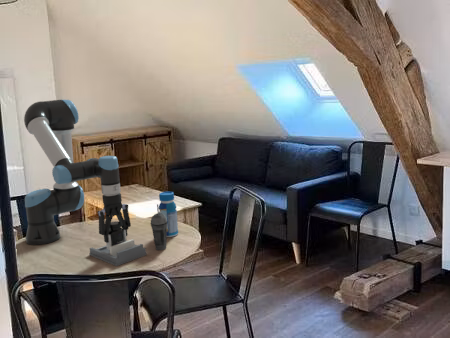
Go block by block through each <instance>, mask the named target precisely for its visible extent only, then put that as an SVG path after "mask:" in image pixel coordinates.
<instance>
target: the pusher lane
mask: <svg viewBox="0 0 450 338" xmlns="http://www.w3.org/2000/svg"><path fill="white" fill-rule="evenodd" d="M146 249H147V248H145V247H144V244H142V243H139V244H135V246H134V247H131V248H128V249H125V250H122V251H120V252H117V257H115V256H113V255H110V251H109V250H108V249H107V246H106V245H104V246H101V247H97V248H95V247H90V248H89V256H91V257H93V258H96V259H98V260H100V261H103V262H105V263H107V264H110V265H113V266H115V267H118V266H120V265H123V264H126V263H129V262H131V261H134V260H137V259H139V258H142V257H144V256H147V251H146Z"/></svg>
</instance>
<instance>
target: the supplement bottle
mask: <svg viewBox="0 0 450 338" xmlns="http://www.w3.org/2000/svg"><path fill="white" fill-rule="evenodd" d="M109 234H110V235H111V245H112V246H114V245H117V244H120V243H123V242H125V238H124V230H123V228H122V227H121V222H119V220H118V221H111V225H110V230H109ZM109 251H110V250H109Z"/></svg>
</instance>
